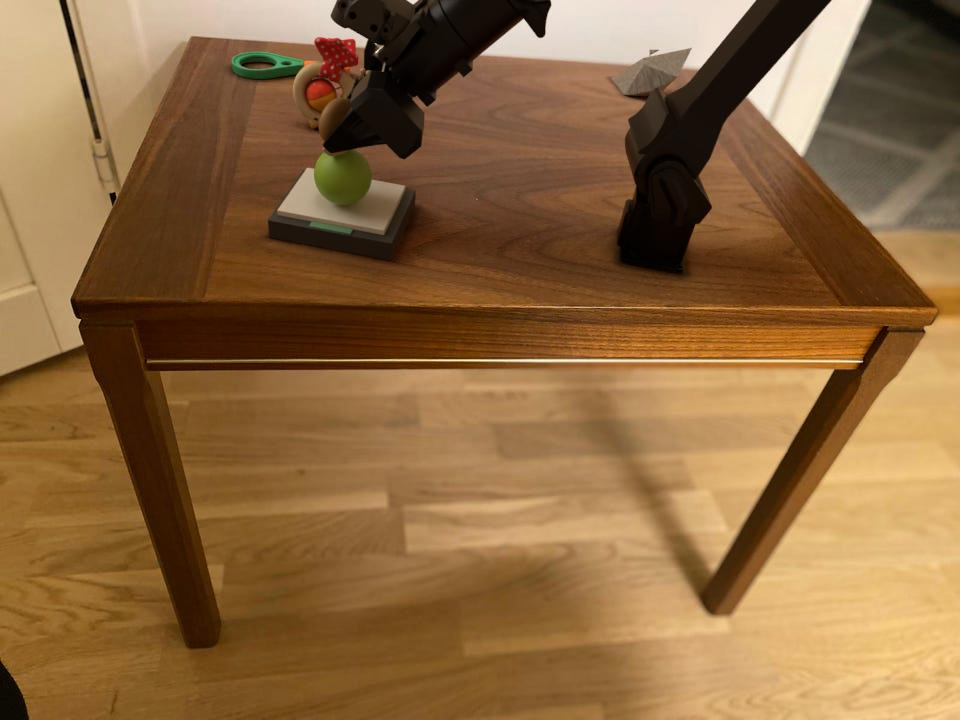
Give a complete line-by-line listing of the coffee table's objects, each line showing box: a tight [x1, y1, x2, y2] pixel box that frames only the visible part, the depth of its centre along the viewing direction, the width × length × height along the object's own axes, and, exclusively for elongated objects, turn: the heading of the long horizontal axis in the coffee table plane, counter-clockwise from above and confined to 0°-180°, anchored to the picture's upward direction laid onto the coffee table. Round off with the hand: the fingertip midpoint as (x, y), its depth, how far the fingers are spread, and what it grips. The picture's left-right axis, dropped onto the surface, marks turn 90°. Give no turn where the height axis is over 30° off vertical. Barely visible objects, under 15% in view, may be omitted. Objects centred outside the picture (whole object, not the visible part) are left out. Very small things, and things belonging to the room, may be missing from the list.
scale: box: [267, 167, 417, 261], centre depth 74 cm, size 12×10×3 cm
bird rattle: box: [292, 36, 360, 129], centre depth 85 cm, size 6×11×9 cm
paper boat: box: [610, 47, 693, 97], centre depth 106 cm, size 12×6×9 cm
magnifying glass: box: [231, 51, 351, 80], centre depth 98 cm, size 15×6×2 cm, turn 97°
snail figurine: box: [313, 67, 373, 205], centre depth 69 cm, size 5×6×12 cm
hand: (330, 135), depth 68 cm, fingers closed on snail figurine, 5 cm apart
